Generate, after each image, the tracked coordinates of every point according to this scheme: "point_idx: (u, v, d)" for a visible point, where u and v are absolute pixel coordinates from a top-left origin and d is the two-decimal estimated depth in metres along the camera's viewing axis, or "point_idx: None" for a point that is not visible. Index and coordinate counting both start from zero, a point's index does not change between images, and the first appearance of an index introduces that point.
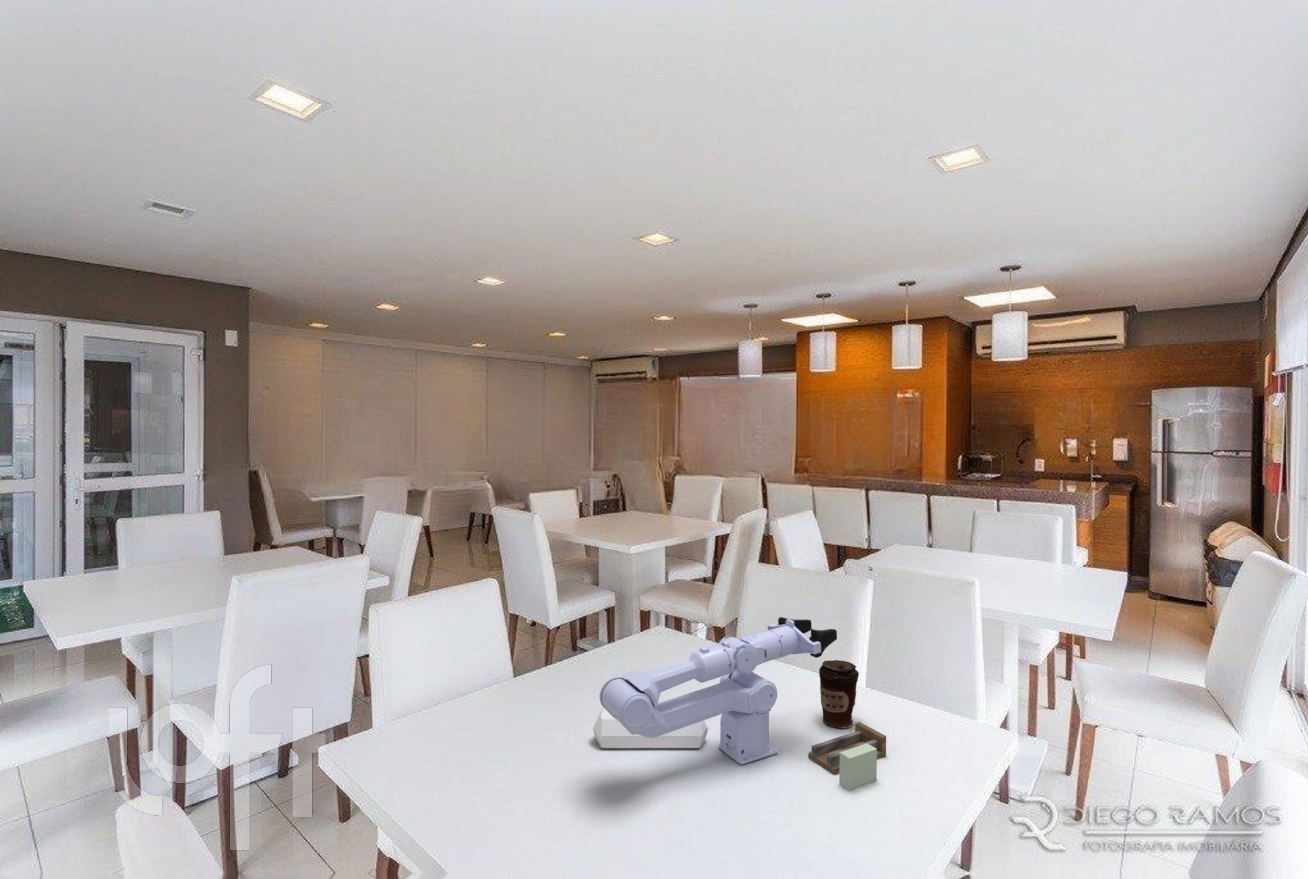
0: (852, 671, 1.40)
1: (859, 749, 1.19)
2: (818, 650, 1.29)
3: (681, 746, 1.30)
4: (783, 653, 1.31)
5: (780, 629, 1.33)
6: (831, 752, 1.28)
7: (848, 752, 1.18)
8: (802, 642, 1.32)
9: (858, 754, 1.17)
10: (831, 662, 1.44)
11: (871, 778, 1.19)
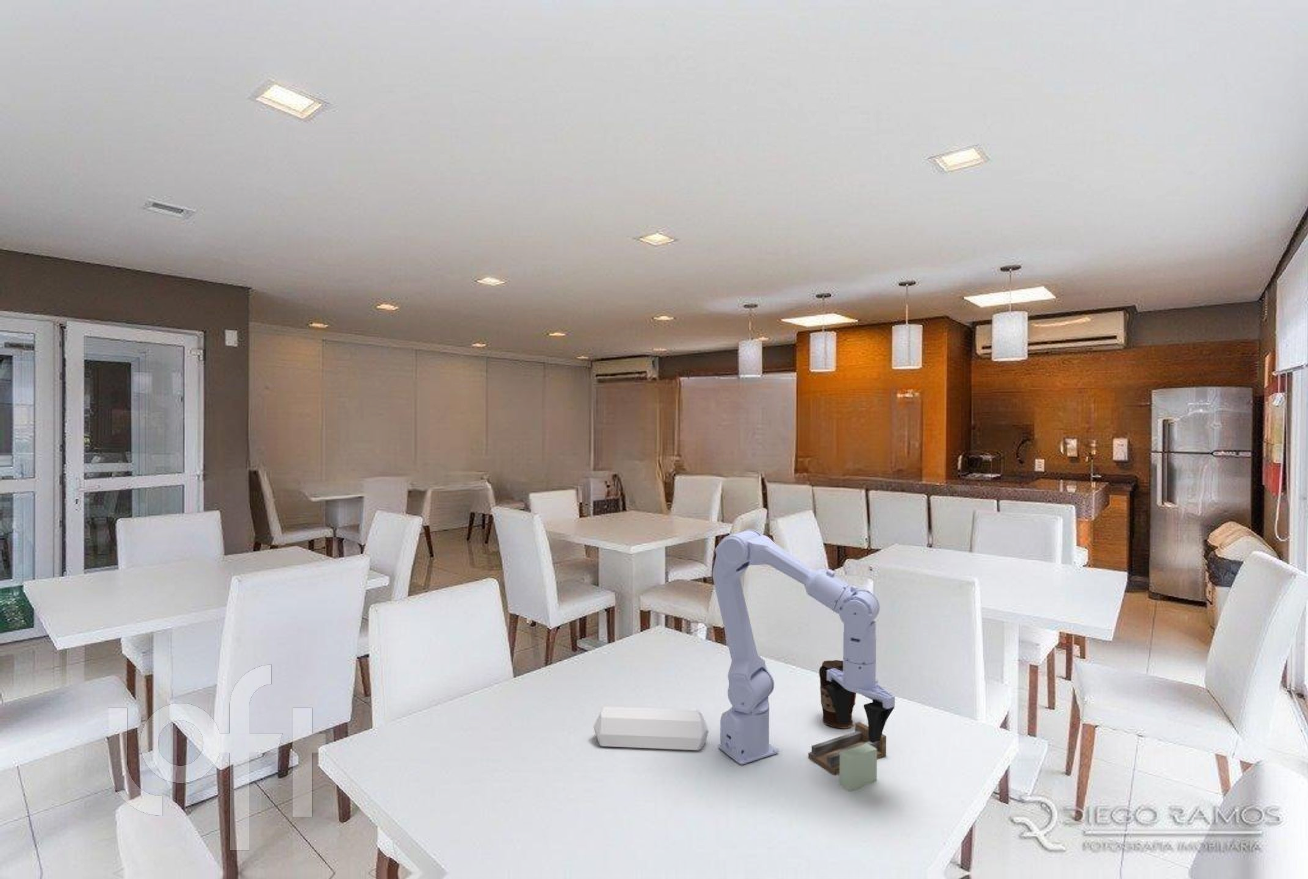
0: None
1: (859, 749, 1.19)
2: (889, 704, 1.12)
3: (679, 747, 1.30)
4: (865, 667, 1.15)
5: None
6: (831, 752, 1.28)
7: (848, 752, 1.18)
8: None
9: (858, 754, 1.17)
10: (831, 662, 1.44)
11: (871, 778, 1.19)
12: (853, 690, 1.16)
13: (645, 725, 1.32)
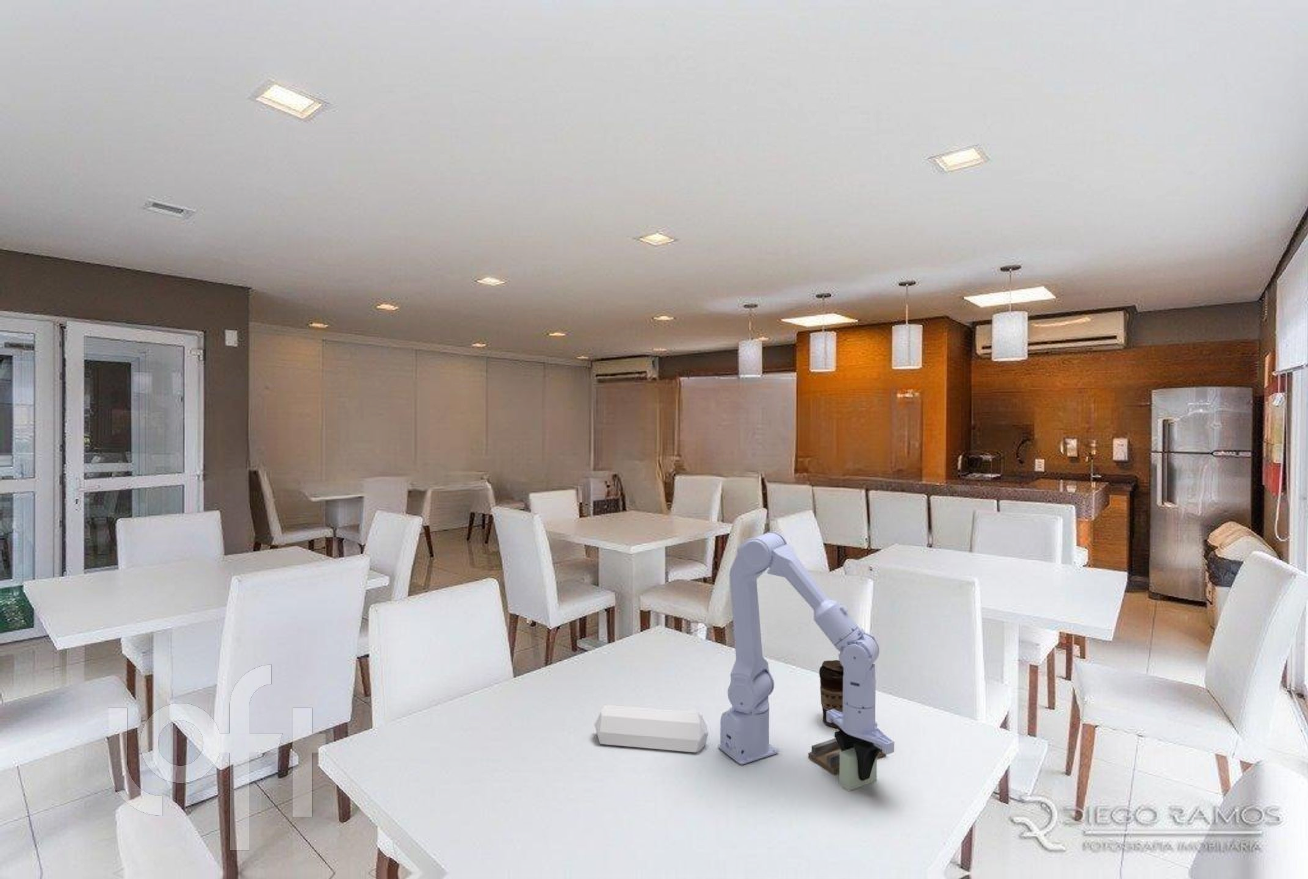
0: None
1: None
2: (888, 750, 1.12)
3: (678, 749, 1.29)
4: (864, 711, 1.16)
5: None
6: (831, 752, 1.28)
7: (848, 752, 1.18)
8: None
9: None
10: (831, 662, 1.44)
11: (871, 778, 1.19)
12: (853, 734, 1.16)
13: (644, 724, 1.32)
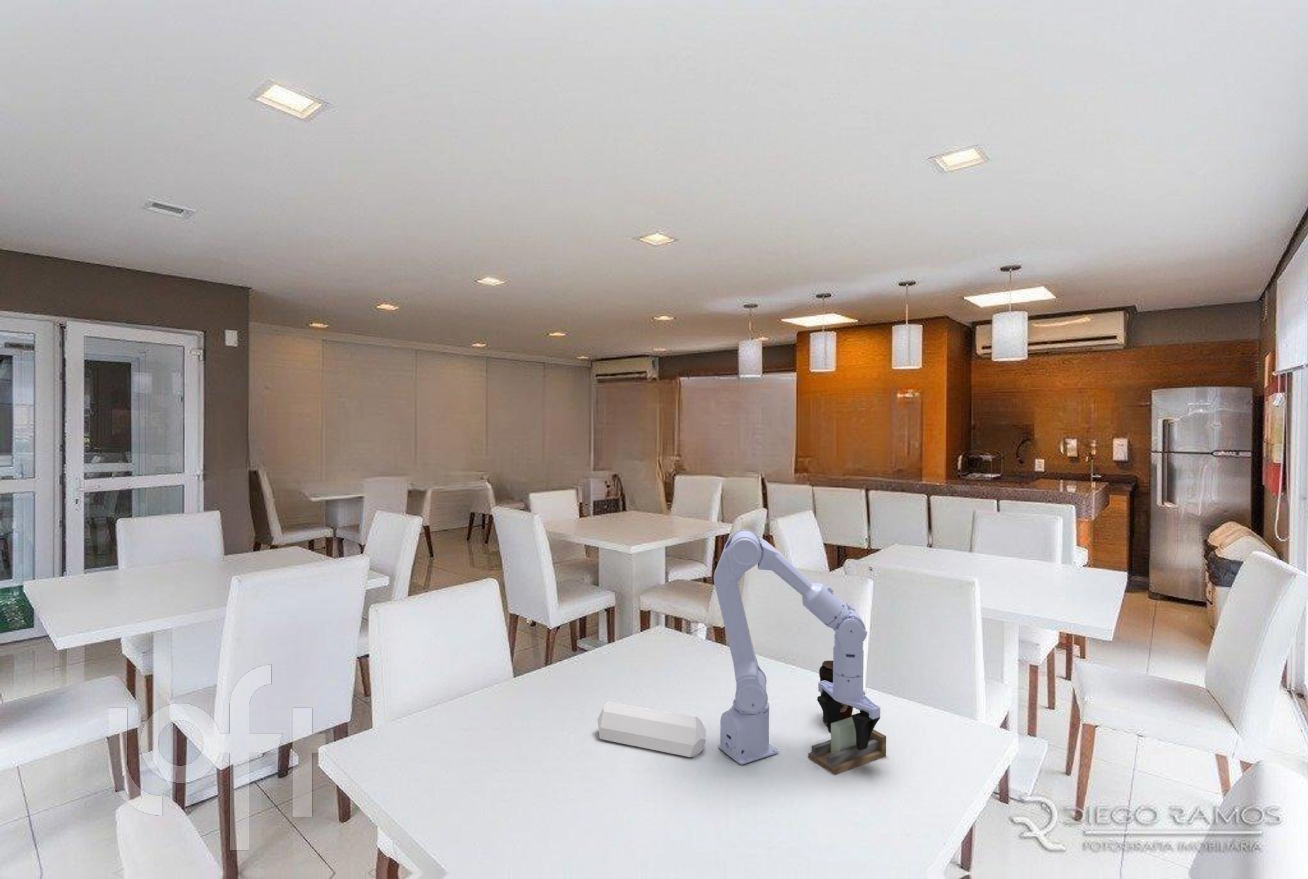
0: None
1: (849, 721, 1.28)
2: (875, 715, 1.21)
3: (672, 752, 1.28)
4: (853, 680, 1.25)
5: None
6: None
7: (839, 723, 1.27)
8: None
9: (848, 725, 1.27)
10: (831, 662, 1.44)
11: None
12: (842, 701, 1.25)
13: (642, 724, 1.32)
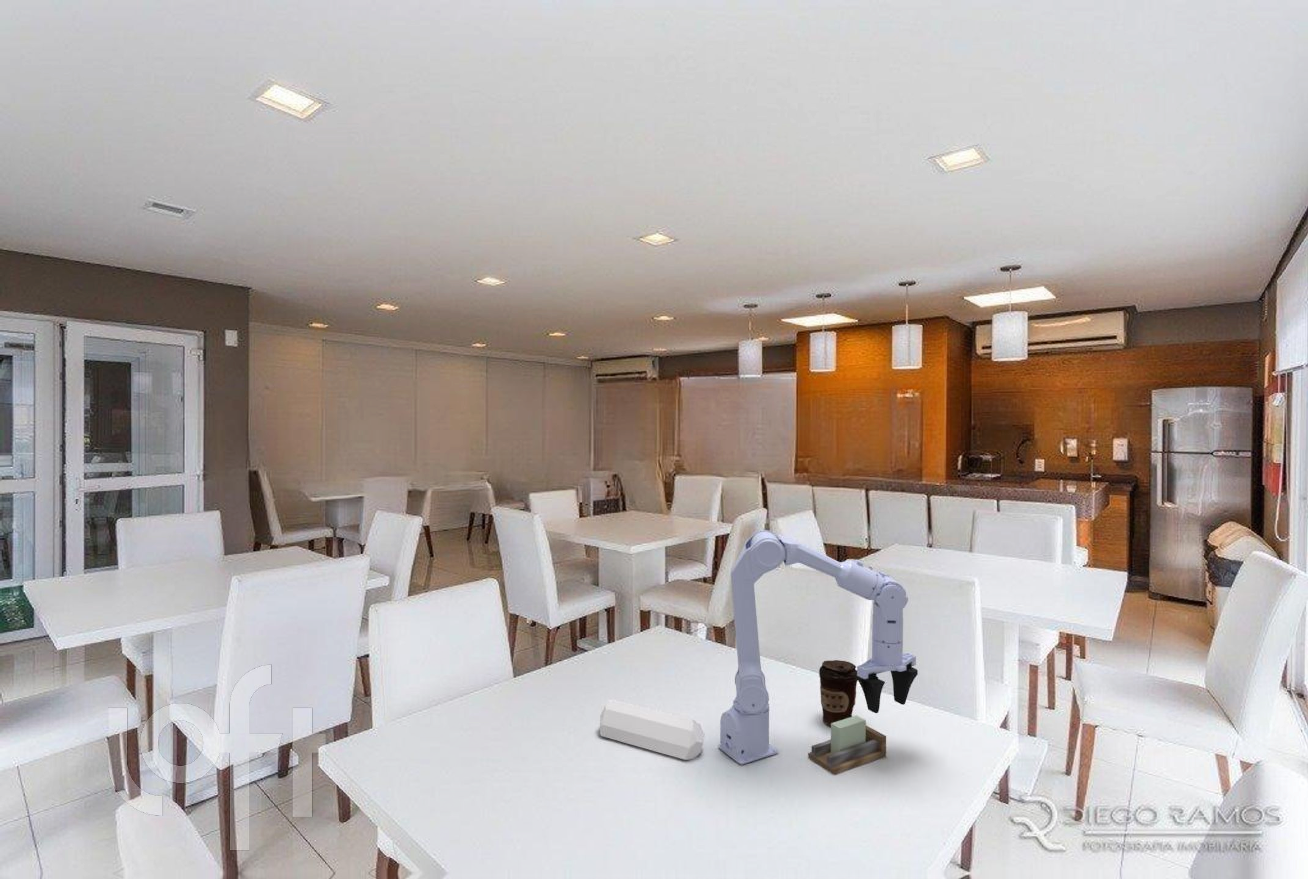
0: (852, 671, 1.40)
1: (849, 721, 1.28)
2: (858, 673, 1.25)
3: (668, 753, 1.28)
4: (873, 641, 1.27)
5: (897, 652, 1.25)
6: None
7: (839, 723, 1.27)
8: (875, 665, 1.26)
9: (848, 725, 1.27)
10: (831, 662, 1.44)
11: None
12: None
13: (641, 724, 1.32)
